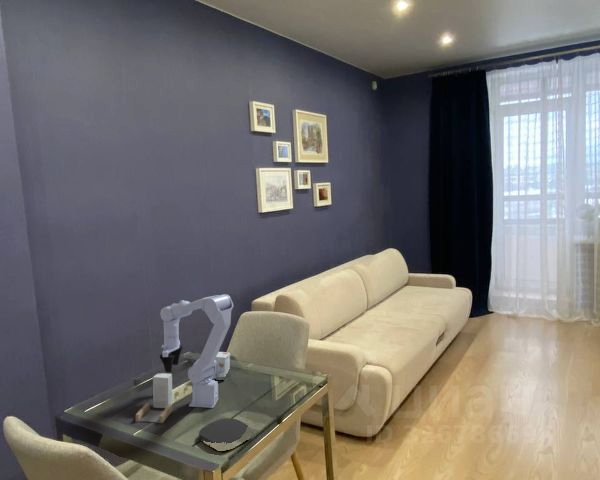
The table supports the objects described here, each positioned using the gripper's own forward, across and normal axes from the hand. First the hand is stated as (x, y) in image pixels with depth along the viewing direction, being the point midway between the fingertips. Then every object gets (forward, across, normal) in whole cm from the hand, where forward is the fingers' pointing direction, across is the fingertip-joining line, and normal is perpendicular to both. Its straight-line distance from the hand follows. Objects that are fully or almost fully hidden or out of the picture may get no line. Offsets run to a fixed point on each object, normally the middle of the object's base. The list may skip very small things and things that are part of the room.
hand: (171, 368), depth 177 cm
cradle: (+10, +19, 0) cm, 22 cm away
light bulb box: (+11, -17, +14) cm, 24 cm away
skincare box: (+10, +11, 0) cm, 15 cm away
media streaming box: (+11, +30, +29) cm, 44 cm away
